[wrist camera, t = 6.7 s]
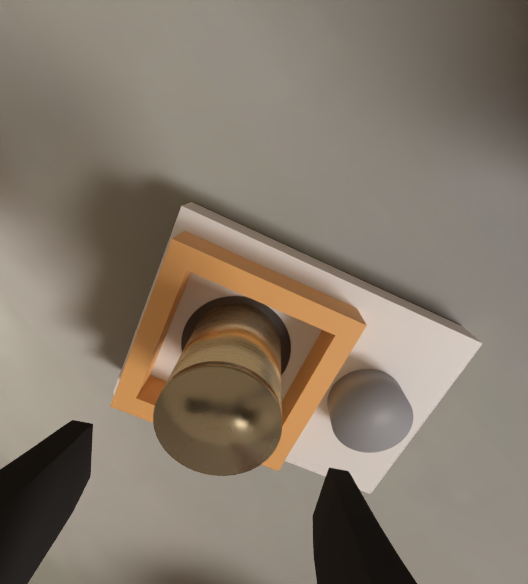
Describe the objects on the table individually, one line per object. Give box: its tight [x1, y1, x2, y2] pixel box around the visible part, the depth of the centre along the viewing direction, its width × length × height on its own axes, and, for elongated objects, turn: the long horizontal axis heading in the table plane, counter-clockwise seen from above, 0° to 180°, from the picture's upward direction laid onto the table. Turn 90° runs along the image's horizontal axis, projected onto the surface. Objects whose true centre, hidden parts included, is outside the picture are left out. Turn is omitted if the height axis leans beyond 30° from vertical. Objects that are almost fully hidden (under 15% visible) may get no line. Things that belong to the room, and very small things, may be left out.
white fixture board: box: [110, 202, 483, 494], centre depth 18 cm, size 16×11×4 cm
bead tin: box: [153, 304, 282, 476], centre depth 15 cm, size 4×4×6 cm
